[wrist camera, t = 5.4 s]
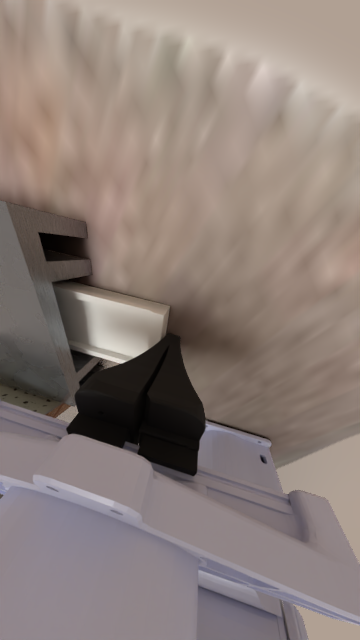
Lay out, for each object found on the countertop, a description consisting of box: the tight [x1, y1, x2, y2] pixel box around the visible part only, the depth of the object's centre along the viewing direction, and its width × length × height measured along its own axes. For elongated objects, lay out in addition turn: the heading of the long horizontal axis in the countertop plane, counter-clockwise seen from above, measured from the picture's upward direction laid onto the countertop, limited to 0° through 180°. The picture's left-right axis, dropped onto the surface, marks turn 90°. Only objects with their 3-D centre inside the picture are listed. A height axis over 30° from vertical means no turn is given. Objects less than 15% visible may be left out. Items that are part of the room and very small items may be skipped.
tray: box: [52, 280, 170, 364], centre depth 12 cm, size 12×6×2 cm, turn 79°
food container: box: [0, 383, 71, 418], centre depth 14 cm, size 12×6×10 cm
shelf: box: [0, 201, 104, 407], centre depth 12 cm, size 10×16×4 cm, turn 169°
